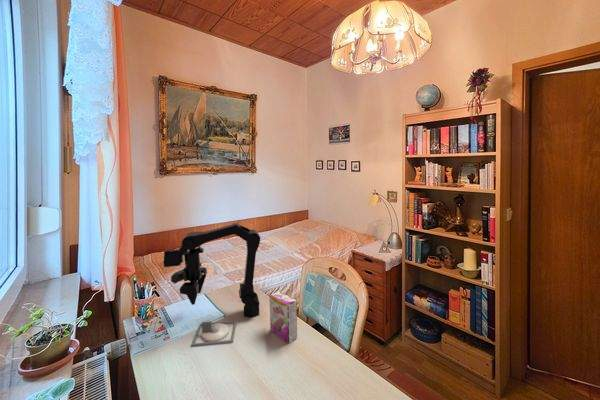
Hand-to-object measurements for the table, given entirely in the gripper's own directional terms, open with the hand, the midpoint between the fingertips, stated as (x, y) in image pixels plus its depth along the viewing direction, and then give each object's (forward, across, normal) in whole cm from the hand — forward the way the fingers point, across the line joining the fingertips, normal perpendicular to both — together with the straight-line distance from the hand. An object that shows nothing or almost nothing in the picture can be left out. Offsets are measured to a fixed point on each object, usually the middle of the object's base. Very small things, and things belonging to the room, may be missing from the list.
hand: (196, 298), depth 112 cm
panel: (+12, +8, +9) cm, 17 cm away
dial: (+11, +8, +9) cm, 17 cm away
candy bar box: (+13, +11, +36) cm, 40 cm away
